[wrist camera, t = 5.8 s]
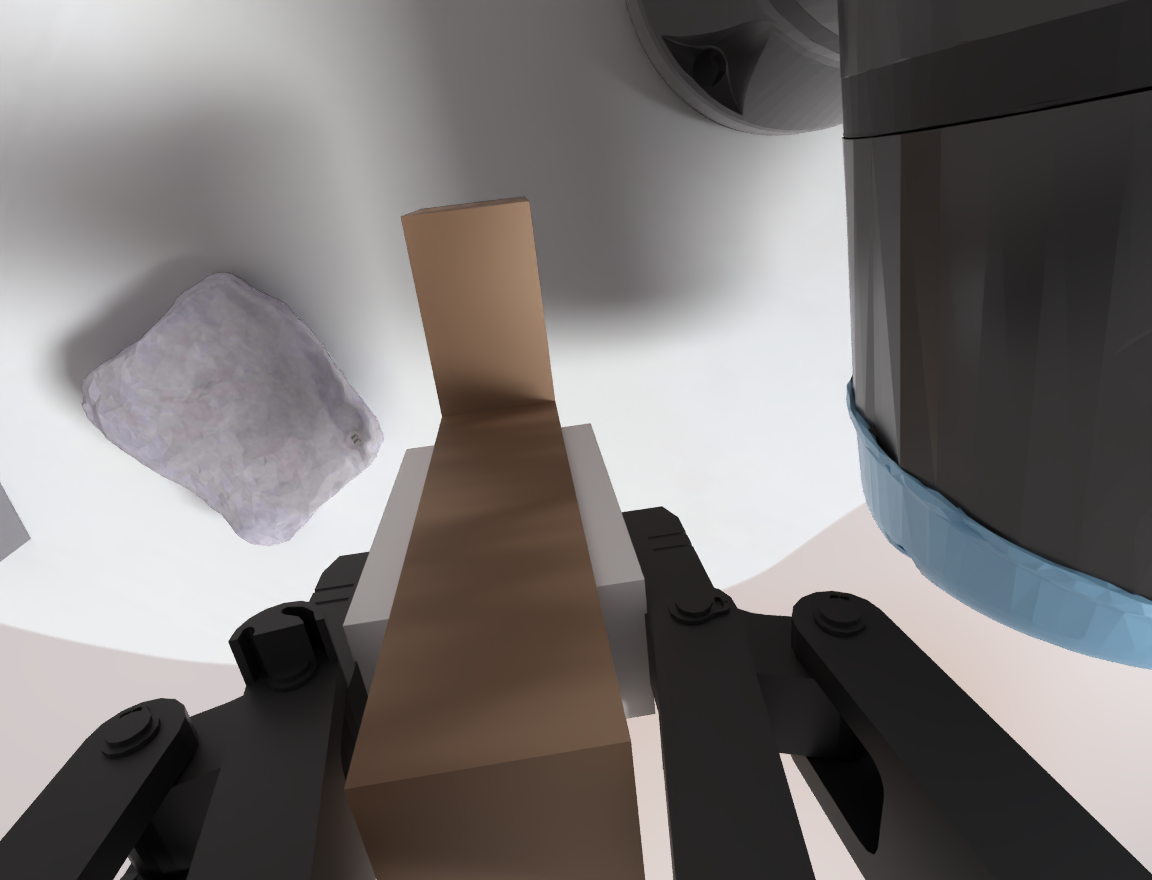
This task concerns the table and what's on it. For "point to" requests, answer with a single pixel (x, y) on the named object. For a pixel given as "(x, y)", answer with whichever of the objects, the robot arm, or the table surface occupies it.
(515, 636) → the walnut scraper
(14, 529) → the block
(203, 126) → the table surface
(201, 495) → the stone block
